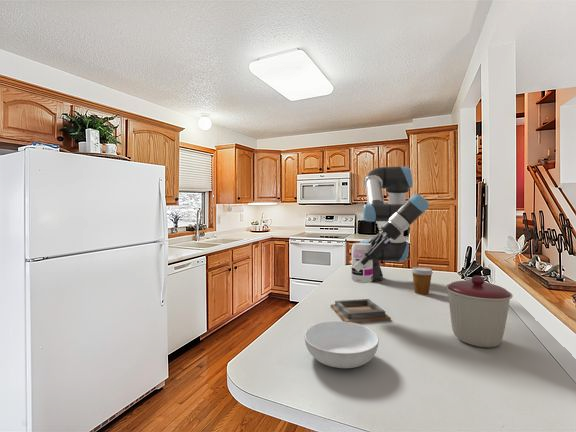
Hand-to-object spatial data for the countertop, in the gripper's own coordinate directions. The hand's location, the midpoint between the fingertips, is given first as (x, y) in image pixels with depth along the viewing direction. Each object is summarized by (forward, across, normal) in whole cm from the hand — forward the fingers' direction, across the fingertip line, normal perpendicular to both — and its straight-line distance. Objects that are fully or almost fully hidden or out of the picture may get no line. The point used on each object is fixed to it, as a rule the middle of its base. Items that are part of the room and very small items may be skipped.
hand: (353, 266), depth 120 cm
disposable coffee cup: (-13, +28, -40) cm, 51 cm away
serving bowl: (+20, -35, -7) cm, 41 cm away
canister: (-12, -22, -39) cm, 46 cm away
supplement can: (+2, 0, -7) cm, 7 cm away
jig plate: (+12, 0, -15) cm, 19 cm away
